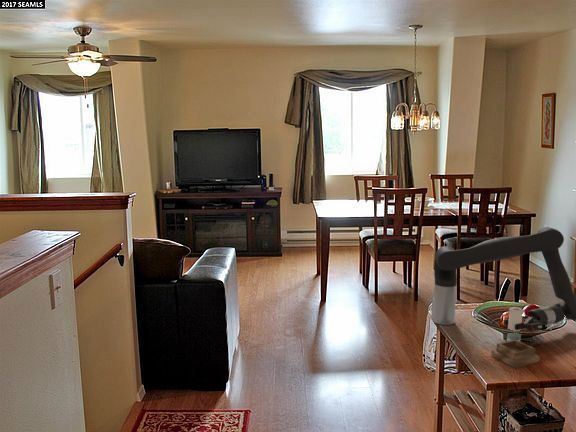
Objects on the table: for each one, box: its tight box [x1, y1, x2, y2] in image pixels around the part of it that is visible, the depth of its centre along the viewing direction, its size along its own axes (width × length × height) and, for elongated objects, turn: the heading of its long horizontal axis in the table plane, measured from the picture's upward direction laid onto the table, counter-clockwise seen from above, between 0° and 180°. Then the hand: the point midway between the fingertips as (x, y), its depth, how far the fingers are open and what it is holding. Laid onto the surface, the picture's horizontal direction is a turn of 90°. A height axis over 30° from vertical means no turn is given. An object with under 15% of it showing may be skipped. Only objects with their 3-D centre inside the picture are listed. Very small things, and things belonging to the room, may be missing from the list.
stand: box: [490, 339, 541, 369], centre depth 218 cm, size 12×12×5 cm
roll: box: [506, 306, 524, 342], centre depth 231 cm, size 5×5×14 cm
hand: (510, 324), depth 229 cm, fingers closed on roll, 5 cm apart
